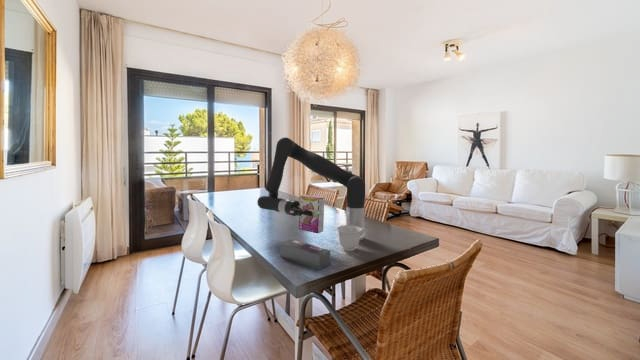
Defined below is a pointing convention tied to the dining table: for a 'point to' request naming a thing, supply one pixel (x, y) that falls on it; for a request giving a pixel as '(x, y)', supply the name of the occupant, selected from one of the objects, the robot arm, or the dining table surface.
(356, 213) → the robot arm
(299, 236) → the dining table surface
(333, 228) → the dining table surface
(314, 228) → the candy bar box
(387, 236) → the dining table surface
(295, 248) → the box
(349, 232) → the teacup
